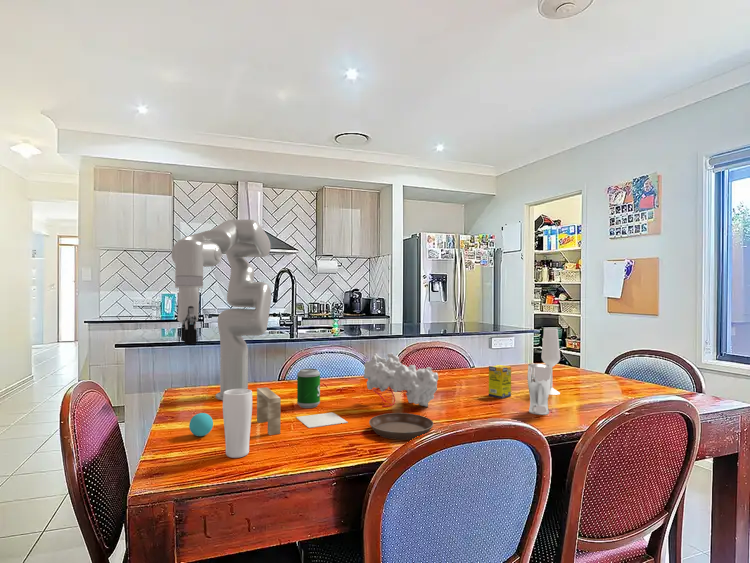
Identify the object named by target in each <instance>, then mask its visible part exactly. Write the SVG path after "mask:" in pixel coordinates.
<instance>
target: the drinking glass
mask: <svg viewBox="0 0 750 563" xmlns="http://www.w3.org/2000/svg"><path fill="white" fill-rule="evenodd" d="M252 414H253V391H252V389H231V390H227V391H225V392H223V400H222V419H223V426H224V441H225V455H226V456H227V458H232V459H238V458H244V457H246V456H247V455H249V452H250V436H251V429H252V428H251V427H252V426H251V425H252V416H253V415H252Z"/></svg>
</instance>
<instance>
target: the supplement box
mask: <svg viewBox="0 0 750 563" xmlns="http://www.w3.org/2000/svg"><path fill="white" fill-rule="evenodd" d="M488 396H489V397H493V398H496V399H504V398H508V397H509V398H510V397H511V396H512V366H510V365H504V364H495V365H494V364H493V365H489V366H488Z"/></svg>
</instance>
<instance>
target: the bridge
mask: <svg viewBox="0 0 750 563" xmlns="http://www.w3.org/2000/svg"><path fill="white" fill-rule="evenodd" d="M281 406H282V405H281V397H280V396H279V395H277V394H276V393H275V392H274V391H273V390H271V389H270V388H269V387H267V386H266V387H257V388H256V422H257V423H258V424H261V423H267V435H269V436H272V435H280V434H281V413H282V412H281V409H282V408H281Z"/></svg>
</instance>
